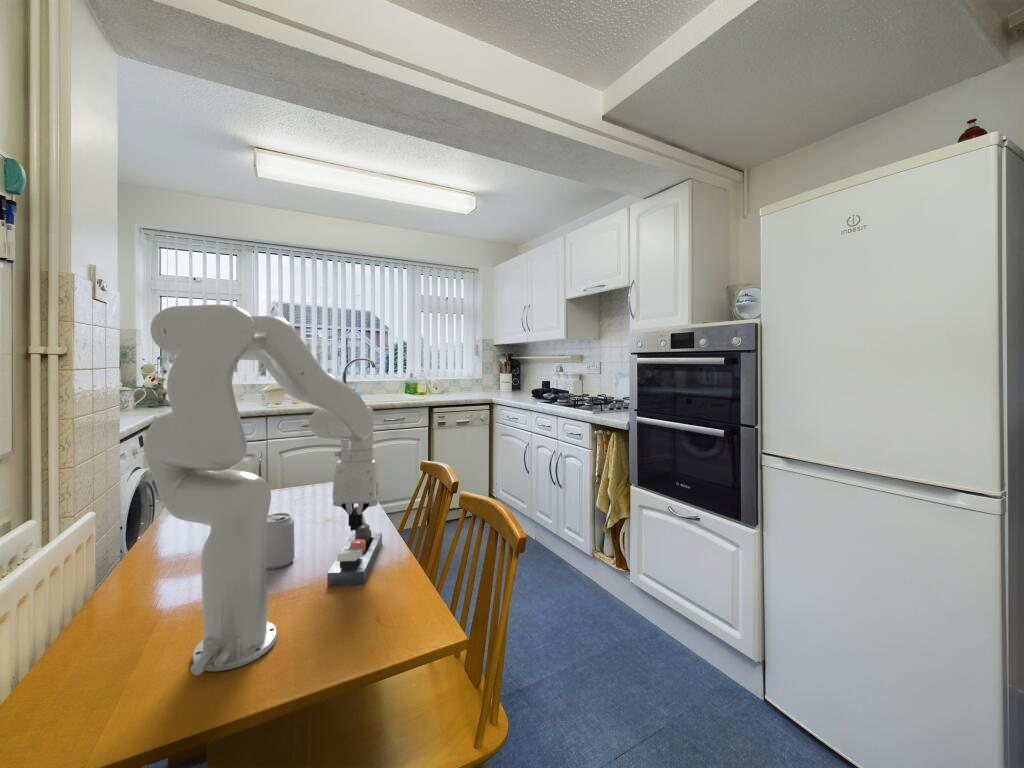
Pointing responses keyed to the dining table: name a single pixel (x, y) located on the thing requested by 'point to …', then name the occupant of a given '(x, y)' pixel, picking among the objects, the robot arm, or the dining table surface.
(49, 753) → the dining table surface
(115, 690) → the dining table surface
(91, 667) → the dining table surface
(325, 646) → the dining table surface
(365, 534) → the button
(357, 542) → the button
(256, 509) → the robot arm
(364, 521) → the toggle
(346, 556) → the block
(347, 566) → the panel
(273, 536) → the can
